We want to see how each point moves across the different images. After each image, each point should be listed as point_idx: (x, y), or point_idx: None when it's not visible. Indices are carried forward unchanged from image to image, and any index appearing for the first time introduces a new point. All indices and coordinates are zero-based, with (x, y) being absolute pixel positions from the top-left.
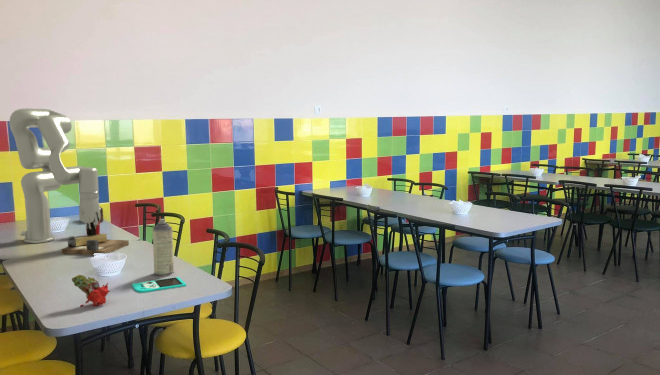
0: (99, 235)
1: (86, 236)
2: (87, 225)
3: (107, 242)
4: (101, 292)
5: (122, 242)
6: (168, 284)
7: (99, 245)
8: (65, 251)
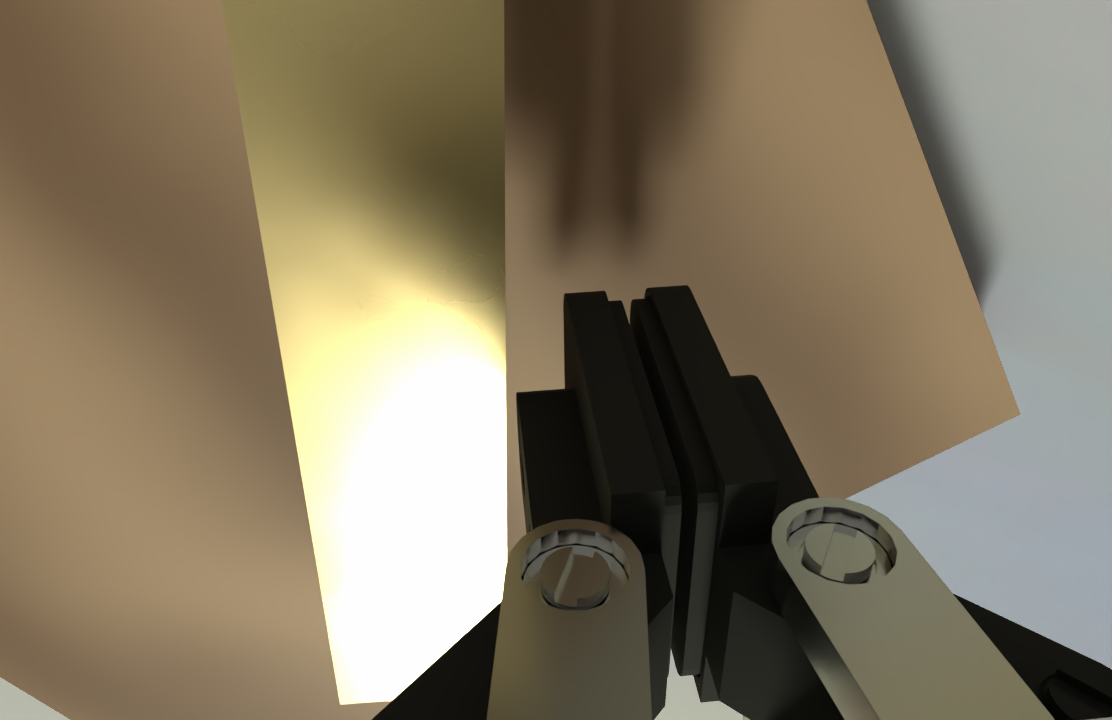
0: (314, 548)
1: (441, 206)
2: (818, 640)
3: (288, 528)
4: None
5: (74, 702)
6: None
7: (38, 286)
8: None
